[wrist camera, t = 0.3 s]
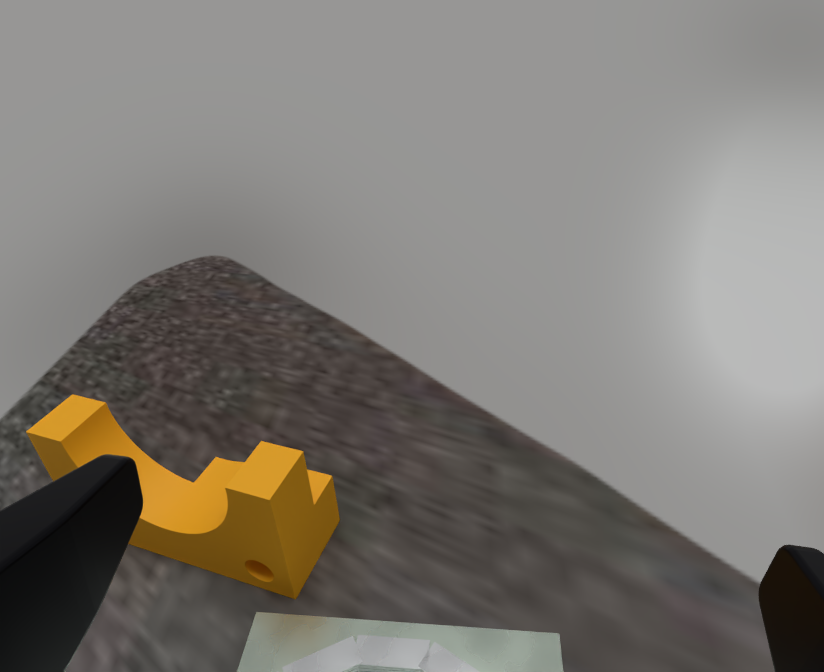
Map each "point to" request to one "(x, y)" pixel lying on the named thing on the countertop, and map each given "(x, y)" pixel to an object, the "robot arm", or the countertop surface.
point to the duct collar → (392, 647)
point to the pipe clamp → (208, 501)
